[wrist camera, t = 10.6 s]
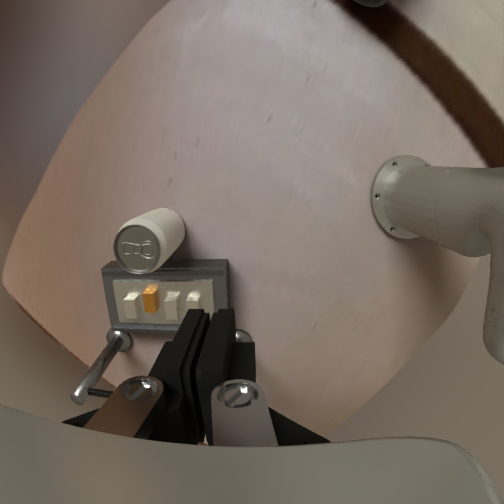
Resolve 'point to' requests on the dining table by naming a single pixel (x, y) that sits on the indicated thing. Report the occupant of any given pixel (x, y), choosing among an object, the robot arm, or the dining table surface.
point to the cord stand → (115, 344)
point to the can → (148, 240)
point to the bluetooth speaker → (371, 2)
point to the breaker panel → (164, 294)
